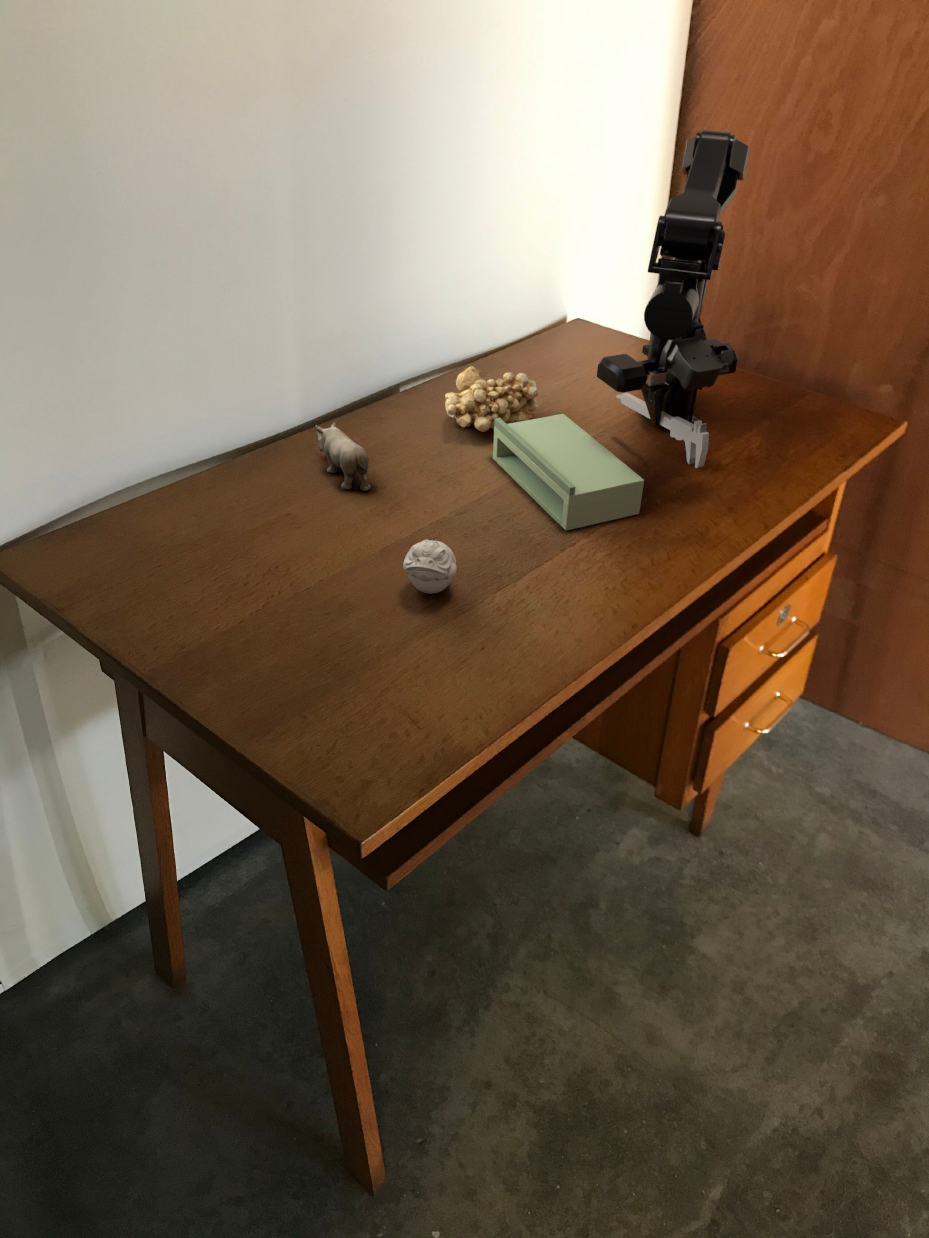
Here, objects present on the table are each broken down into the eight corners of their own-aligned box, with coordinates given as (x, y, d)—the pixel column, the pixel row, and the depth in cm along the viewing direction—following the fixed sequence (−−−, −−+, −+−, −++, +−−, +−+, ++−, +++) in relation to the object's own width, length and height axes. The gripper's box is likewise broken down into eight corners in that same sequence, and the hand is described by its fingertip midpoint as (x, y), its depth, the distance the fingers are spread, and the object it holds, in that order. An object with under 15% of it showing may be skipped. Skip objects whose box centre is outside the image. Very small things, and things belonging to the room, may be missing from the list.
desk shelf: (560, 445, 146) (564, 405, 142) (639, 514, 130) (645, 471, 127) (492, 458, 142) (494, 418, 138) (565, 531, 127) (570, 487, 123)
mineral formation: (545, 419, 152) (491, 450, 141) (472, 410, 159) (416, 439, 148) (543, 367, 148) (488, 394, 138) (469, 360, 155) (410, 385, 145)
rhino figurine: (333, 447, 143) (331, 408, 140) (376, 489, 134) (375, 448, 130) (307, 453, 141) (304, 414, 138) (348, 496, 132) (346, 455, 128)
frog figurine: (396, 604, 113) (395, 552, 109) (412, 570, 118) (411, 520, 114) (449, 612, 112) (450, 560, 108) (462, 577, 118) (463, 527, 113)
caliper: (703, 470, 132) (714, 428, 128) (696, 471, 131) (706, 429, 127) (621, 397, 145) (629, 357, 141) (615, 398, 145) (622, 358, 141)
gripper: (649, 344, 119) (633, 462, 128) (775, 324, 125) (750, 437, 135) (601, 313, 127) (588, 426, 136) (721, 295, 134) (701, 404, 143)
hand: (659, 424), depth 137 cm, fingers closed on caliper, 1 cm apart
